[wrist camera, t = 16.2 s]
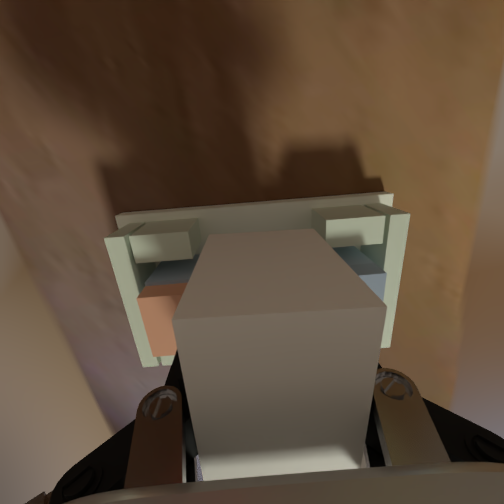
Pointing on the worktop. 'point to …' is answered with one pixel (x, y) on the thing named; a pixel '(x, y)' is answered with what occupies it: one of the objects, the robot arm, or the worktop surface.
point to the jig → (254, 220)
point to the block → (277, 355)
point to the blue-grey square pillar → (176, 279)
